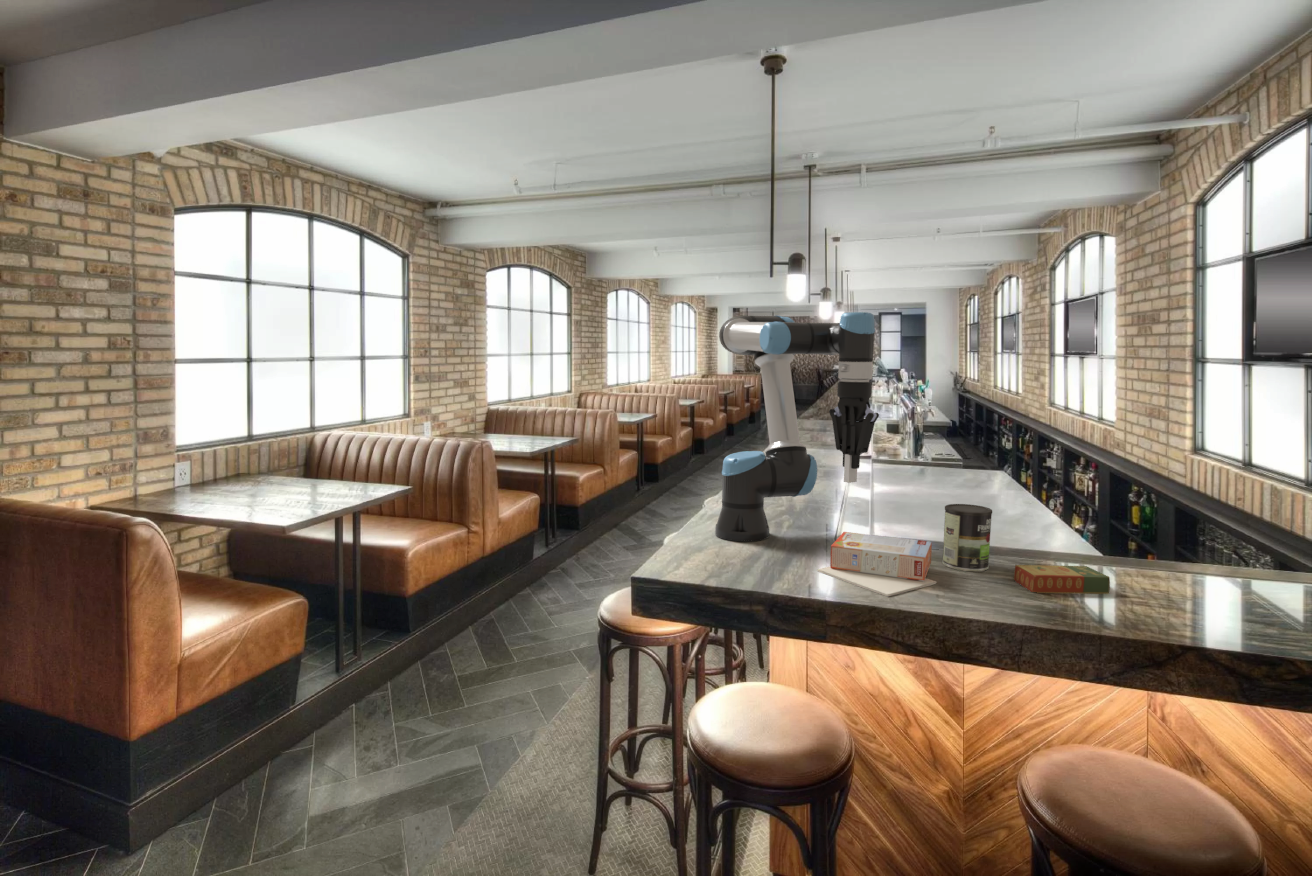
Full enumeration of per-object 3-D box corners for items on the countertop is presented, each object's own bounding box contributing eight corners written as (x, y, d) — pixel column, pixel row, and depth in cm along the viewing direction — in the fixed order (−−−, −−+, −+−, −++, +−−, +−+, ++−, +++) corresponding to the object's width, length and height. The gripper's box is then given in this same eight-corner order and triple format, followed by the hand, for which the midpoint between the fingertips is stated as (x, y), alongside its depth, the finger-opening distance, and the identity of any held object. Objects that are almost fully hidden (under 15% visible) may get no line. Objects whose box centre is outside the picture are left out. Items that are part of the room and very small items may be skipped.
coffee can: (996, 566, 160) (999, 508, 159) (977, 574, 153) (981, 514, 152) (953, 556, 168) (956, 501, 166) (934, 564, 161) (936, 507, 160)
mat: (817, 571, 156) (817, 569, 156) (864, 560, 164) (864, 558, 164) (887, 596, 139) (887, 594, 139) (936, 583, 147) (936, 581, 147)
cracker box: (829, 569, 156) (925, 582, 146) (829, 544, 155) (926, 555, 146) (842, 554, 168) (932, 565, 158) (843, 530, 168) (932, 540, 158)
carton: (1013, 581, 150) (1014, 563, 149) (1085, 582, 149) (1087, 564, 149) (1032, 594, 141) (1034, 574, 141) (1109, 595, 141) (1111, 575, 141)
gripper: (822, 379, 157) (818, 478, 160) (866, 382, 146) (860, 488, 149) (844, 379, 161) (840, 475, 164) (888, 381, 150) (883, 484, 153)
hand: (850, 481), depth 156 cm, fingers closed
